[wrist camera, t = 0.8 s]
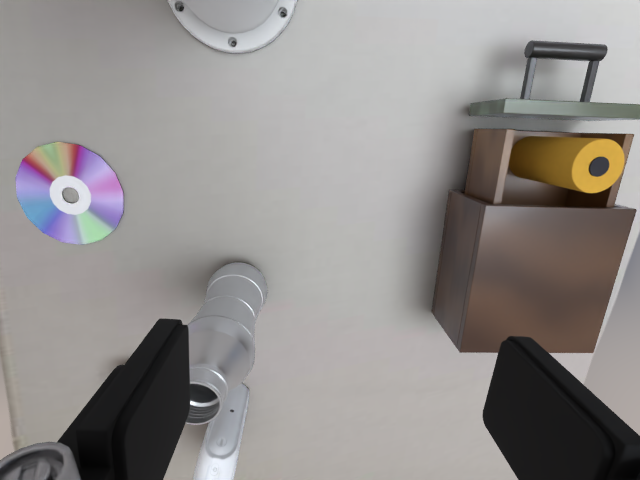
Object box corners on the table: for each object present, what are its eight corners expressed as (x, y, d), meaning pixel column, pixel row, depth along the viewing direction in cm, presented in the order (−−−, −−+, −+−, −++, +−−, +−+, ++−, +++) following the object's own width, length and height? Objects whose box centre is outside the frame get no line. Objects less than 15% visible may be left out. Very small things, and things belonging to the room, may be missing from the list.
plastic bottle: (211, 255, 42) (136, 362, 23) (270, 257, 42) (244, 363, 23) (213, 305, 44) (146, 441, 25) (269, 307, 44) (245, 441, 25)
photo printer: (220, 377, 47) (193, 460, 35) (253, 383, 48) (237, 467, 36) (207, 438, 50) (178, 534, 38) (238, 443, 50) (219, 540, 39)
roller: (512, 135, 38) (580, 137, 28) (552, 136, 38) (633, 139, 29) (504, 177, 39) (567, 192, 30) (543, 178, 39) (618, 194, 30)
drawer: (478, 46, 36) (517, 29, 30) (606, 53, 37) (671, 37, 30) (450, 236, 42) (477, 256, 35) (561, 239, 43) (607, 259, 36)
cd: (135, 166, 39) (135, 166, 38) (111, 258, 41) (110, 258, 41) (25, 124, 37) (25, 124, 37) (7, 223, 40) (7, 223, 40)
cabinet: (448, 189, 41) (485, 205, 33) (571, 193, 42) (637, 209, 34) (431, 312, 46) (459, 352, 38) (542, 313, 47) (593, 353, 38)
